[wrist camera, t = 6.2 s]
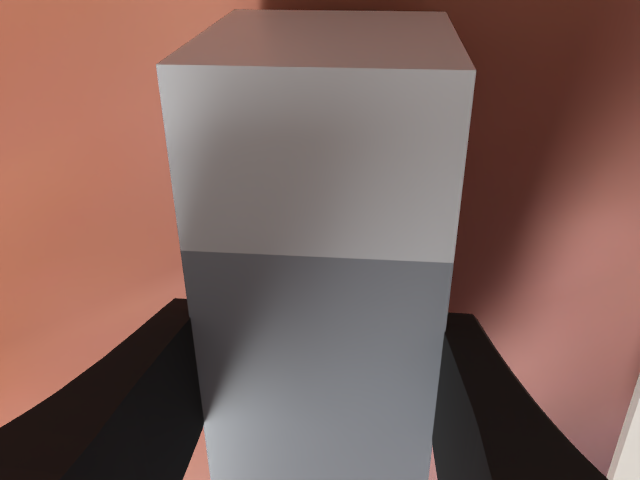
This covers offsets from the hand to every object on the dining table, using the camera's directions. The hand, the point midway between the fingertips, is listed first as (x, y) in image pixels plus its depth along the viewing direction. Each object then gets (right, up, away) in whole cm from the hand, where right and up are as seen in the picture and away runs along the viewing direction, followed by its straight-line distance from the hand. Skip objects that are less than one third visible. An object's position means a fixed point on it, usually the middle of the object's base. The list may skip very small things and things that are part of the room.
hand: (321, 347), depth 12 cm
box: (0, +2, +4) cm, 4 cm away
